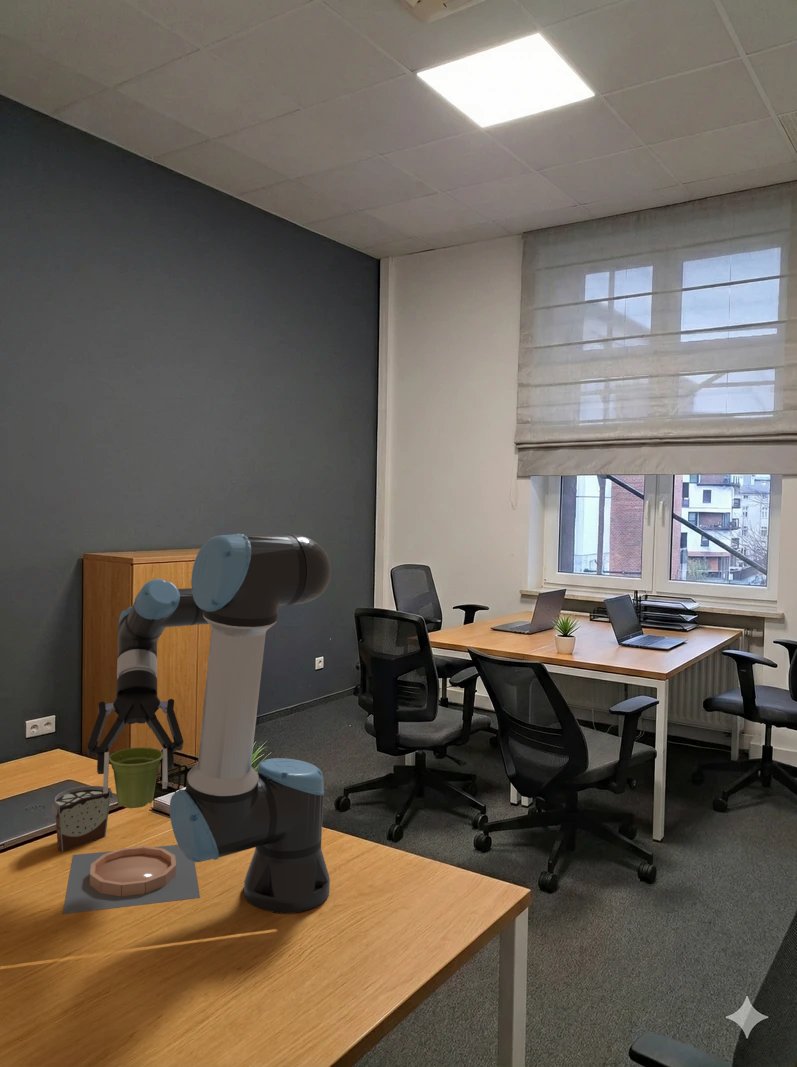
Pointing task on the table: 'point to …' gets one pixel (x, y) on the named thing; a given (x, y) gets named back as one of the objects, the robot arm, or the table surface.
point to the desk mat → (90, 899)
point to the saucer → (132, 871)
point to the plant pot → (135, 775)
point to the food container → (81, 815)
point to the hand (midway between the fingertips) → (135, 787)
